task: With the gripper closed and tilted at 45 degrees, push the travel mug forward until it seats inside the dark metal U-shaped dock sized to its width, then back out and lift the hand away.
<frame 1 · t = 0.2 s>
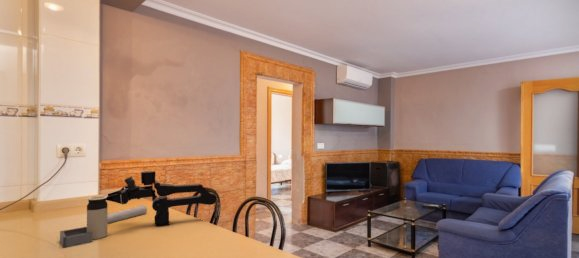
hand: (106, 196, 149), 16 cm above the kitchen counter, tool horizontal, fingers open, 9 cm apart
dock: (78, 240, 134), on the kitchen counter
tube: (124, 219, 169), on the kitchen counter
travel mug: (97, 237, 139), on the kitchen counter
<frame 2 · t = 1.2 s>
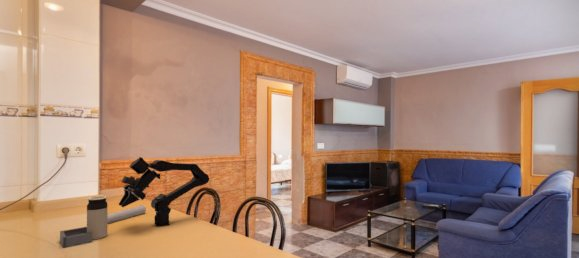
hand: (120, 205, 145), 13 cm above the kitchen counter, tool tilted 45°, fingers open, 5 cm apart
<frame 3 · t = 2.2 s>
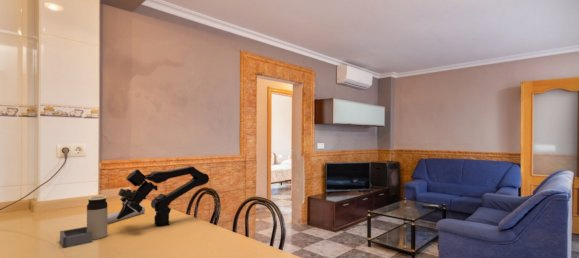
hand: (117, 218, 144), 7 cm above the kitchen counter, tool tilted 45°, fingers closed
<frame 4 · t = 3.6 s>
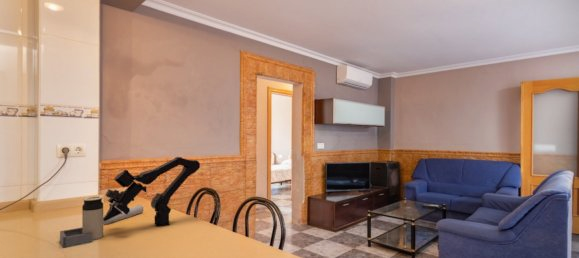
hand: (103, 220, 141), 7 cm above the kitchen counter, tool tilted 45°, fingers closed, pressing on travel mug
travel mug: (93, 238, 138), on the kitchen counter, touching gripper
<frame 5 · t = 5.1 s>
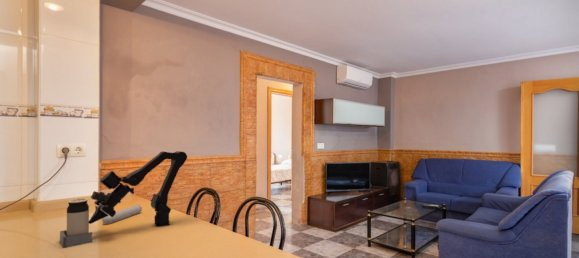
hand: (89, 223, 137), 7 cm above the kitchen counter, tool tilted 45°, fingers closed, pressing on travel mug
travel mug: (77, 241, 134), on the kitchen counter, touching gripper
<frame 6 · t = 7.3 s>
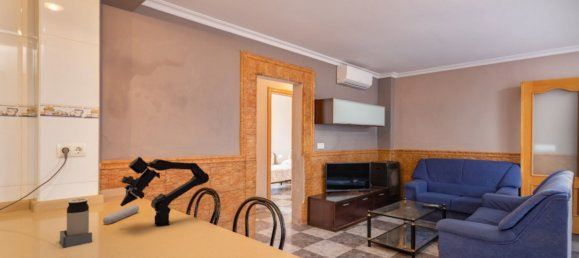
hand: (121, 205, 146), 13 cm above the kitchen counter, tool tilted 45°, fingers closed
travel mug: (77, 241, 134), on the kitchen counter
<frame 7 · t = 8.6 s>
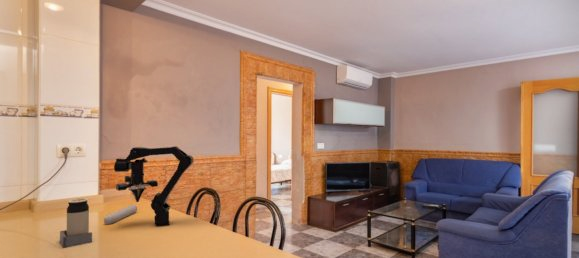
hand: (137, 201, 157), 12 cm above the kitchen counter, tool pointing down, fingers closed
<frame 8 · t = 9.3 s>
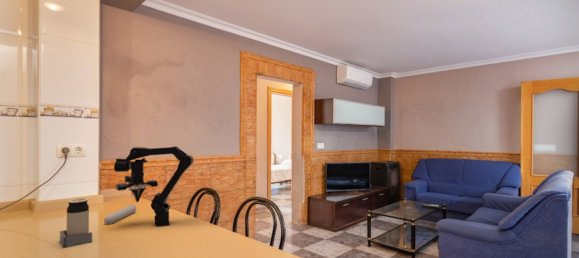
hand: (137, 201, 157), 12 cm above the kitchen counter, tool pointing down, fingers closed
at the end: travel mug 0.7 cm off-centre on the dock, point 0.0 cm above the dock's base; travel mug tilted 0° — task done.
